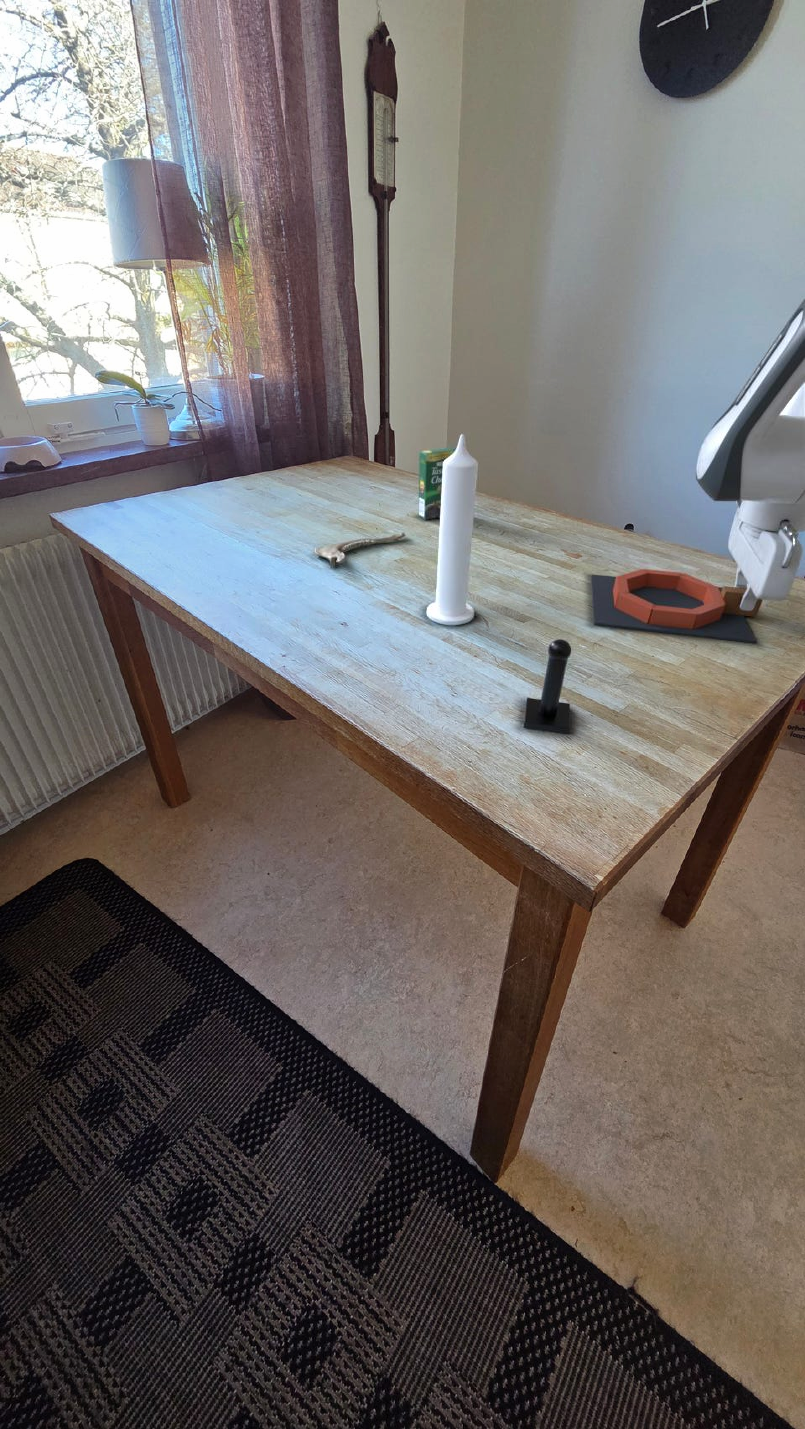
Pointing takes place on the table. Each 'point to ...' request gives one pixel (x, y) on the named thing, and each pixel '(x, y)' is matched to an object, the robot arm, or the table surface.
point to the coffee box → (431, 481)
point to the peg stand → (551, 694)
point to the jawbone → (350, 547)
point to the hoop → (672, 615)
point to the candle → (455, 538)
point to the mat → (610, 616)
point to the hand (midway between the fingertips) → (741, 602)
